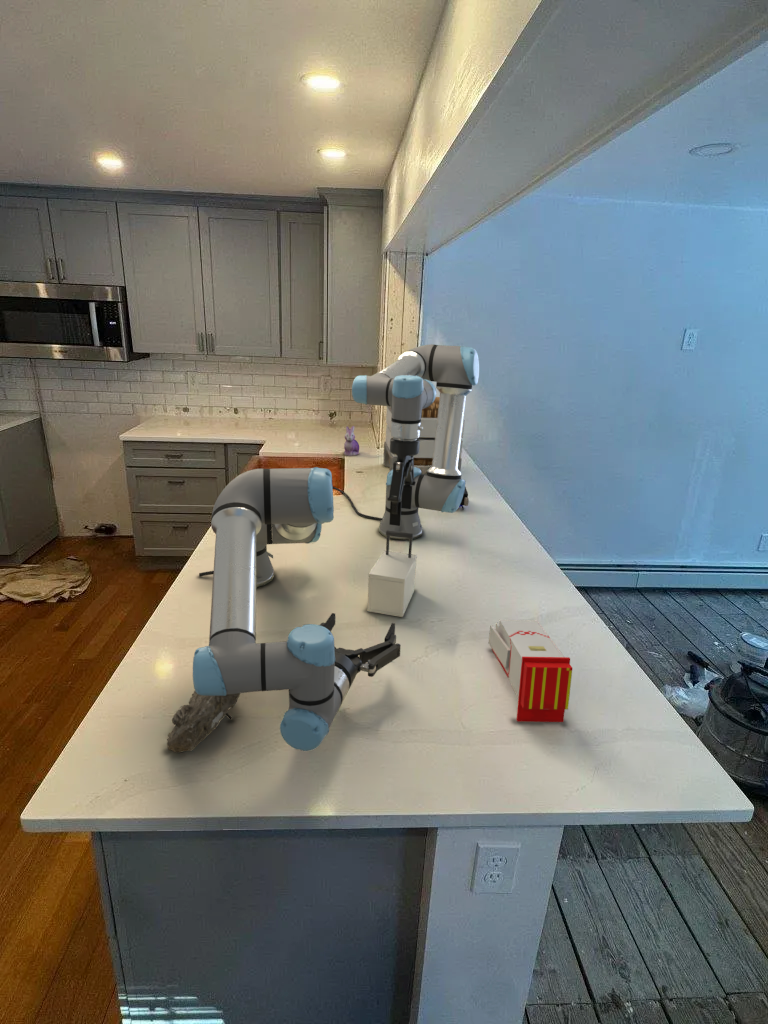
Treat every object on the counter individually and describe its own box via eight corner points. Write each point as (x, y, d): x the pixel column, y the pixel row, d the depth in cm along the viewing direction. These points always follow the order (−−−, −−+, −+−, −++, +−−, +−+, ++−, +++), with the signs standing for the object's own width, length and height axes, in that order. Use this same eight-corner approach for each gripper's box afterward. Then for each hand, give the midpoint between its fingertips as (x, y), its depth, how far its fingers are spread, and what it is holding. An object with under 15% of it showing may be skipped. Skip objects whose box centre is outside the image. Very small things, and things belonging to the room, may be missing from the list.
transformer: (382, 463, 289) (386, 382, 275) (445, 464, 293) (451, 384, 279) (390, 482, 257) (394, 392, 243) (460, 483, 261) (468, 394, 247)
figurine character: (468, 514, 225) (463, 498, 239) (470, 497, 222) (465, 482, 235) (451, 514, 225) (447, 498, 238) (453, 497, 222) (449, 481, 235)
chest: (381, 585, 162) (383, 554, 159) (414, 590, 160) (416, 559, 157) (367, 611, 148) (368, 577, 145) (402, 617, 146) (404, 583, 143)
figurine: (347, 456, 298) (347, 428, 293) (339, 452, 307) (339, 424, 302) (363, 455, 303) (364, 427, 298) (355, 450, 311) (356, 423, 306)
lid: (383, 553, 159) (385, 526, 157) (416, 558, 157) (418, 531, 154) (368, 577, 145) (369, 548, 142) (404, 583, 143) (406, 553, 140)
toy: (535, 605, 135) (581, 664, 106) (530, 657, 138) (574, 728, 108) (484, 604, 135) (517, 662, 105) (480, 656, 137) (511, 727, 108)
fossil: (192, 660, 117) (244, 628, 112) (224, 691, 120) (276, 661, 115) (142, 746, 98) (202, 712, 93) (182, 779, 101) (242, 748, 96)
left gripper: (269, 684, 109) (309, 629, 128) (395, 710, 103) (417, 648, 123) (268, 651, 106) (309, 599, 126) (397, 675, 101) (420, 617, 120)
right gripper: (409, 450, 132) (404, 534, 139) (428, 430, 155) (423, 503, 162) (378, 447, 134) (375, 530, 141) (401, 427, 157) (397, 500, 164)
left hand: (363, 623), depth 124 cm, fingers open, 13 cm apart
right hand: (400, 516), depth 152 cm, fingers open, 13 cm apart
